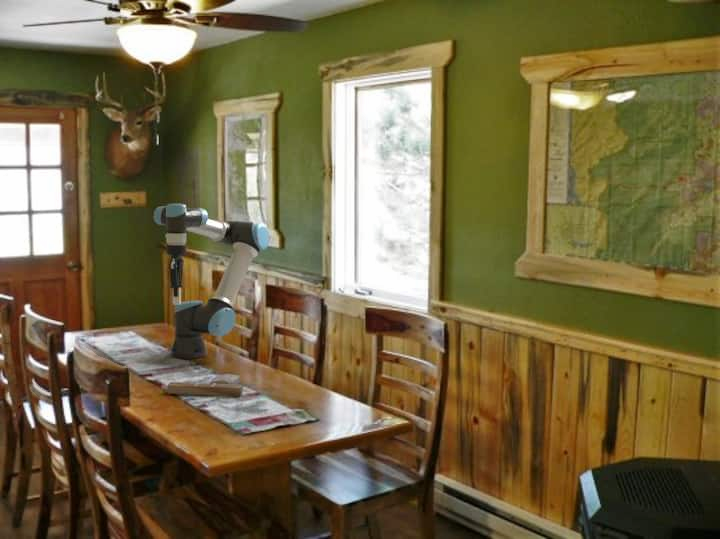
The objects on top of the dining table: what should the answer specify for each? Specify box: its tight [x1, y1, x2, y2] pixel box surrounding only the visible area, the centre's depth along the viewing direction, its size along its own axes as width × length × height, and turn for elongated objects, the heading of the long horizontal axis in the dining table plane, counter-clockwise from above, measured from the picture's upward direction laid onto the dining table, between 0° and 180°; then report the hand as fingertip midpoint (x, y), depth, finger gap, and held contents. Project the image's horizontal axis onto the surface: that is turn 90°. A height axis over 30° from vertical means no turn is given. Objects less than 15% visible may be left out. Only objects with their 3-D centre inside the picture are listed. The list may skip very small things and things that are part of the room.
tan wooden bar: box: [166, 381, 244, 397], centre depth 278 cm, size 4×26×3 cm, turn 88°
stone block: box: [208, 373, 241, 385], centre depth 287 cm, size 12×5×10 cm
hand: (176, 304), depth 304 cm, fingers closed
